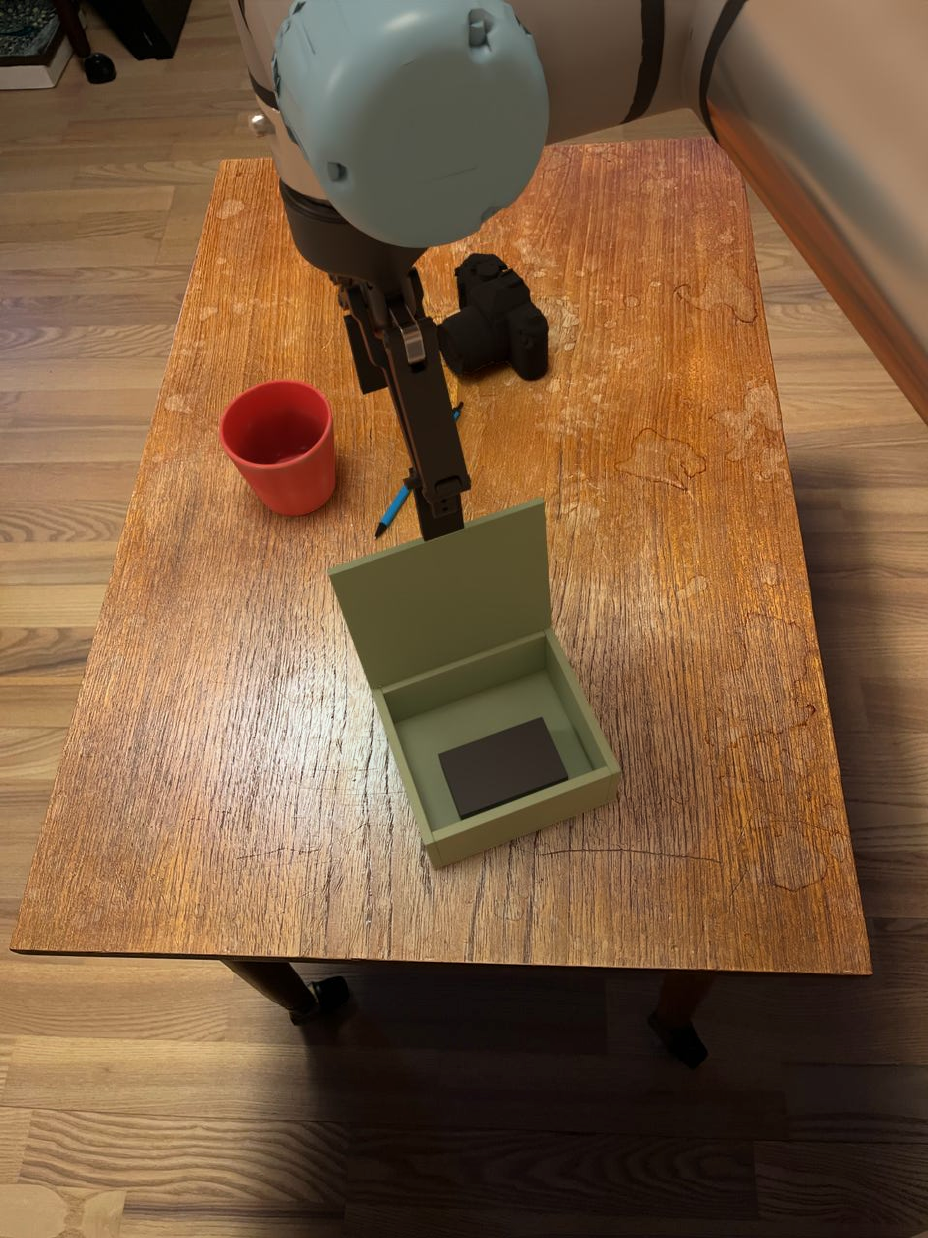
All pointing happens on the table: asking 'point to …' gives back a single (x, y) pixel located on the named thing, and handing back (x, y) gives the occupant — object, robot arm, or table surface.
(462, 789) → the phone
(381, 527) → the pen
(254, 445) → the flower pot
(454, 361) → the film camera
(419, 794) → the case
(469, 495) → the table surface
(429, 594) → the cover
